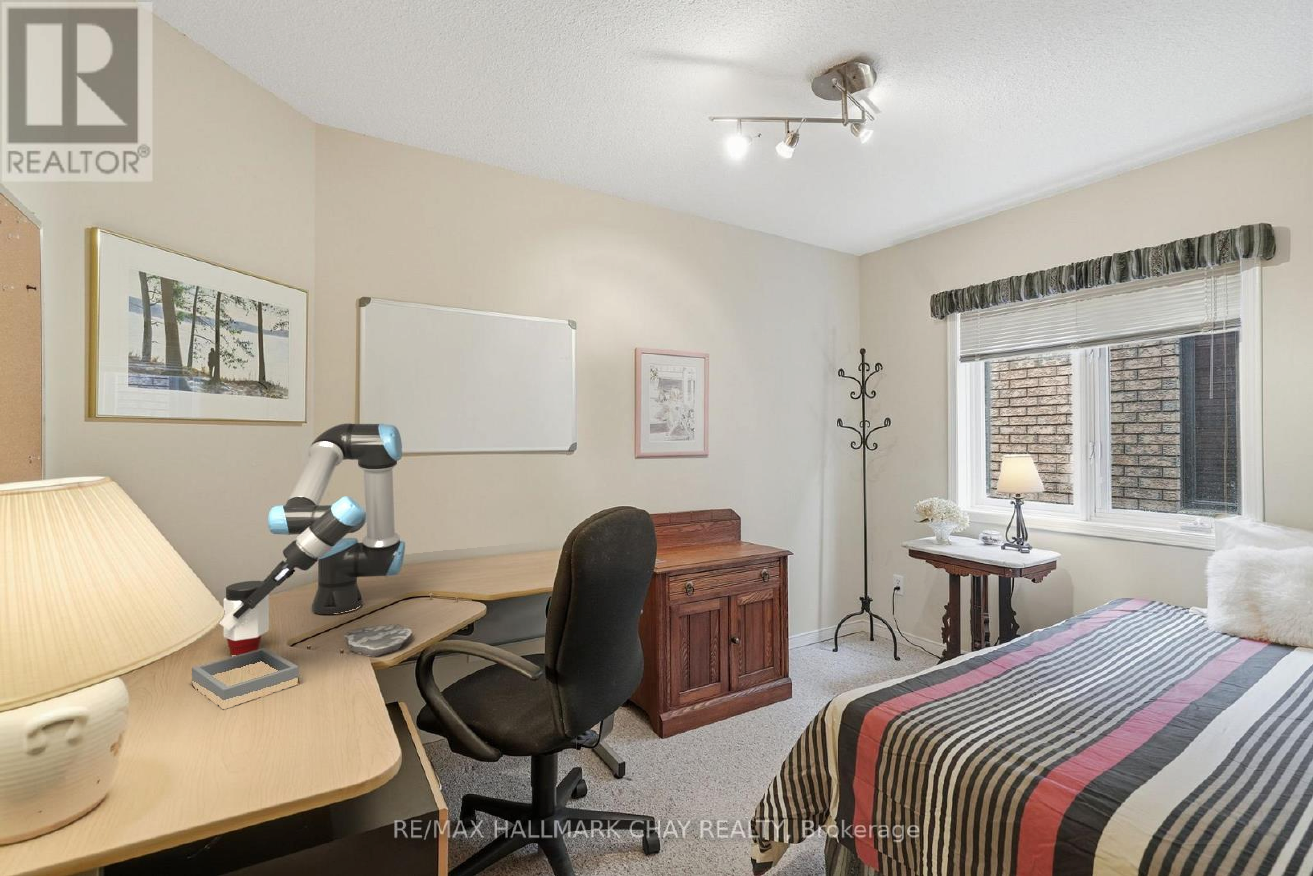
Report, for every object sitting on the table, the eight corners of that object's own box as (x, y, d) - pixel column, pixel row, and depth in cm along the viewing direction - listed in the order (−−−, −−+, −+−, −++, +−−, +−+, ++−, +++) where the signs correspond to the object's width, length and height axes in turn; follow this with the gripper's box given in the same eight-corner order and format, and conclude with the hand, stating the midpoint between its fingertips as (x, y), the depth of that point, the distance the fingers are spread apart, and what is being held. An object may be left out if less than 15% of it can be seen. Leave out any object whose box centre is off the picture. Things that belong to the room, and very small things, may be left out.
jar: (222, 643, 135) (222, 592, 135) (224, 632, 142) (224, 583, 142) (268, 636, 140) (268, 587, 140) (268, 625, 147) (268, 578, 147)
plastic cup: (215, 666, 151) (215, 621, 151) (223, 651, 161) (223, 608, 161) (265, 659, 156) (265, 615, 156) (270, 645, 166) (270, 603, 166)
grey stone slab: (425, 644, 170) (426, 634, 170) (369, 664, 156) (369, 653, 156) (387, 629, 181) (387, 620, 181) (331, 646, 167) (331, 636, 167)
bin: (191, 686, 141) (191, 667, 140) (264, 664, 153) (264, 647, 153) (223, 710, 130) (223, 690, 130) (298, 685, 143) (298, 666, 142)
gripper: (312, 569, 137) (230, 645, 131) (325, 550, 156) (254, 615, 151) (286, 548, 135) (201, 625, 129) (302, 531, 154) (229, 597, 149)
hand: (230, 619), depth 140 cm, fingers closed on jar, 8 cm apart
